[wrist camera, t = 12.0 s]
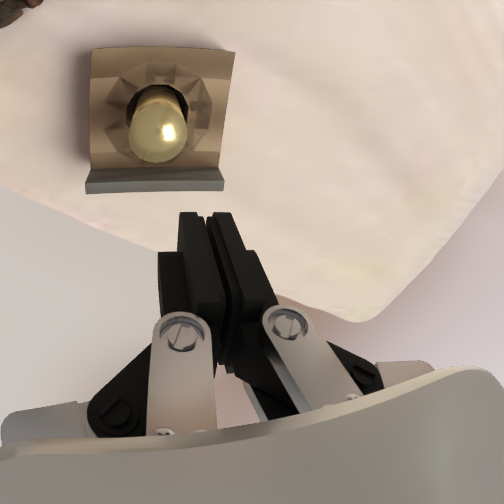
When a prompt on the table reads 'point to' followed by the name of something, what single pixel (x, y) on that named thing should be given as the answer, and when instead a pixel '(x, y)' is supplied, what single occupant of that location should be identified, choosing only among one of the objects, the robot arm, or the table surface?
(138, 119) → the gold cylinder
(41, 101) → the table surface
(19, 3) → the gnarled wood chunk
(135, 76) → the jig
